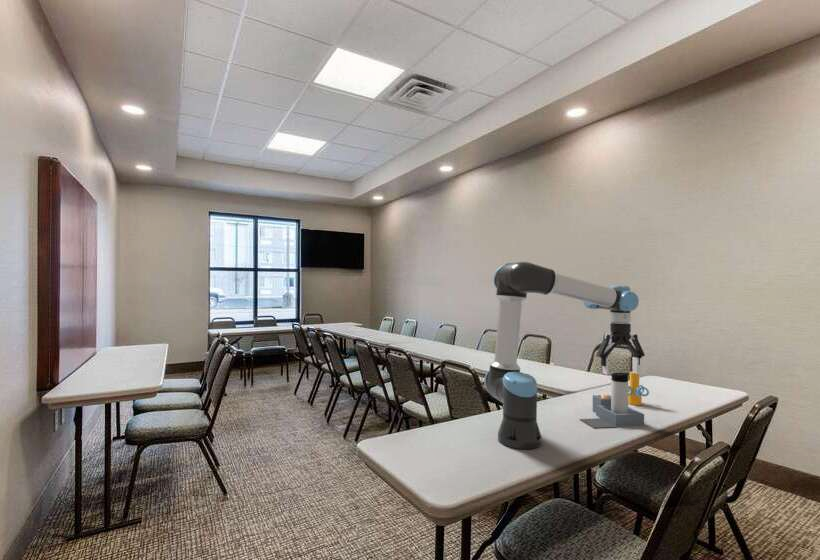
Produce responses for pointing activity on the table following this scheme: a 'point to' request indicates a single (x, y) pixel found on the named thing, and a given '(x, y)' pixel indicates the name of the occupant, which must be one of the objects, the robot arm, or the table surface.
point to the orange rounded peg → (604, 396)
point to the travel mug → (619, 393)
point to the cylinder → (635, 390)
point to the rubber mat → (598, 423)
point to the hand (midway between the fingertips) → (620, 373)
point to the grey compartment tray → (604, 411)
